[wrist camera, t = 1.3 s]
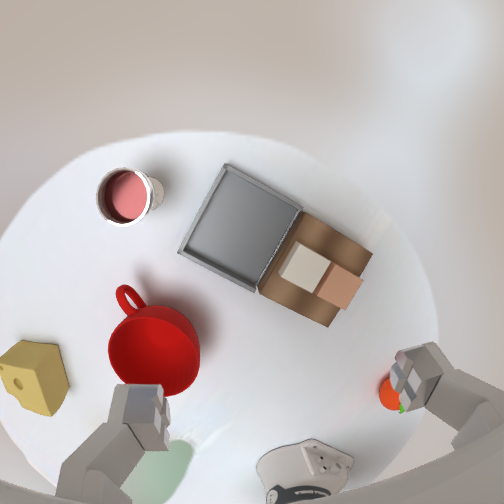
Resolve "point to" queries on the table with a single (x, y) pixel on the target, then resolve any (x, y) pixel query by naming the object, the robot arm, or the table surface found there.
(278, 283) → the walnut block
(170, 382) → the ceramic cup
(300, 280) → the tile
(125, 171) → the wineglass
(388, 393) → the clementine
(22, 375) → the cheese
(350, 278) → the tile
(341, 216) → the table surface
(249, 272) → the tray
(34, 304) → the table surface
